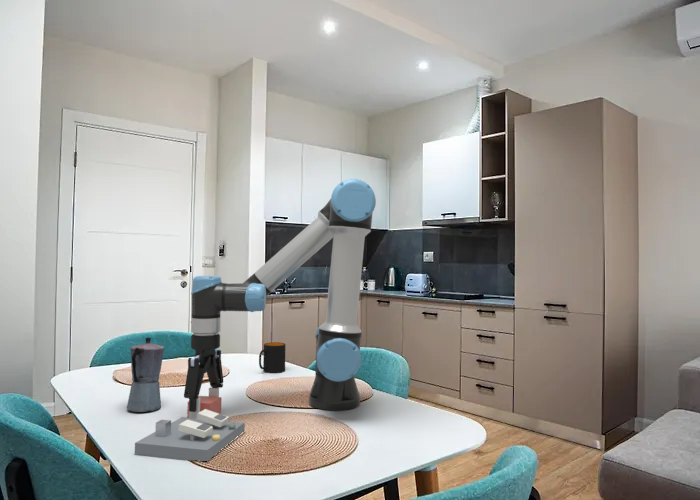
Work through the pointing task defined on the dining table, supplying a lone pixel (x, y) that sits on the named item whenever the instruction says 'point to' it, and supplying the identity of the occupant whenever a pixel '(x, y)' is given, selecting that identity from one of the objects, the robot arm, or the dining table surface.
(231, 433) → the panel
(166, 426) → the post
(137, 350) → the moka pot
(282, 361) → the mug
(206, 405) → the cap
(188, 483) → the dining table surface
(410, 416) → the dining table surface
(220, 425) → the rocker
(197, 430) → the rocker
